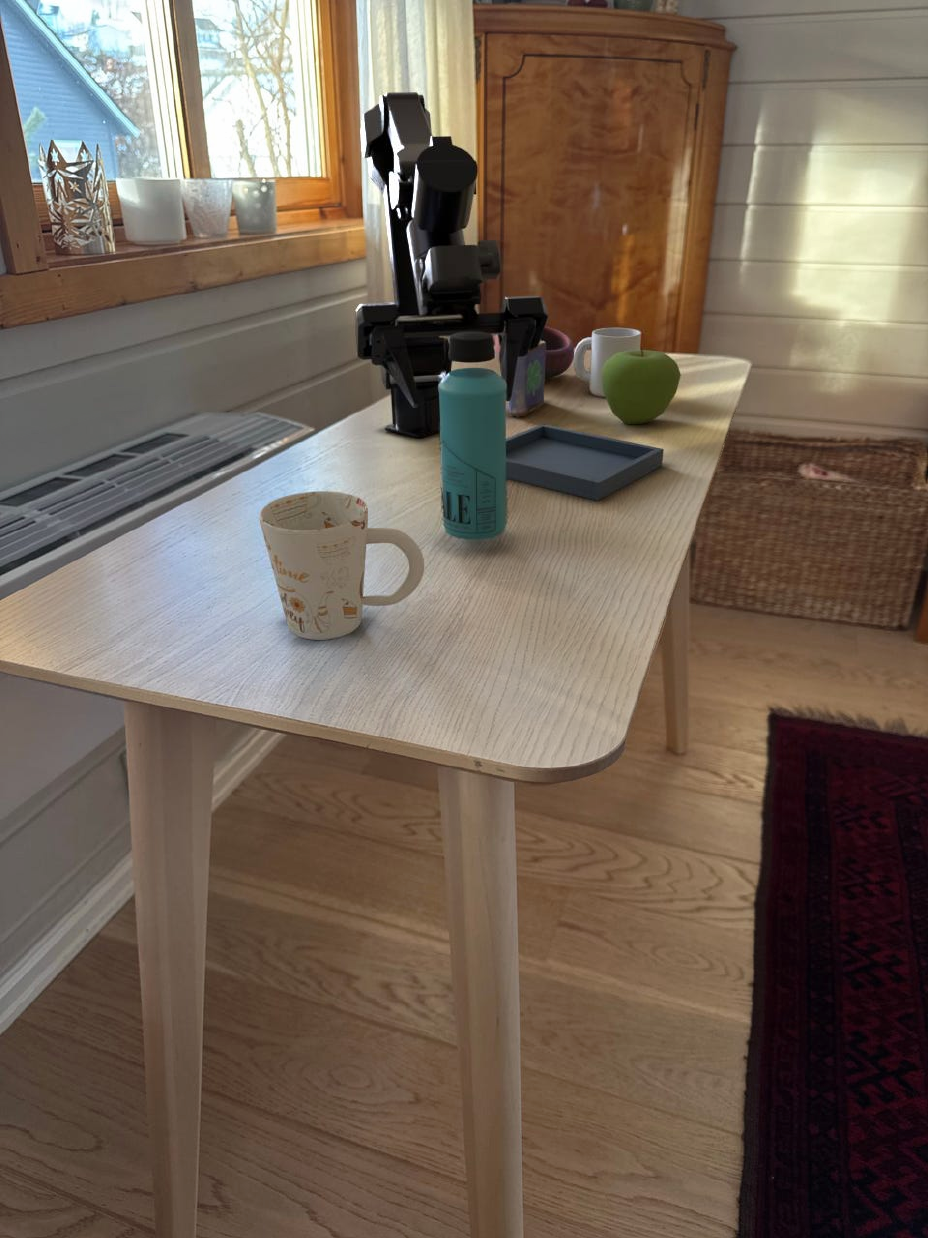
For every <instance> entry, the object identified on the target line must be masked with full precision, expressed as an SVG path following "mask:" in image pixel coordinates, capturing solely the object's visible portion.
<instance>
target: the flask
mask: <svg viewBox="0 0 928 1238" xmlns="http://www.w3.org/2000/svg"><path fill="white" fill-rule="evenodd" d="M545 360H546V342H545V341H541V339H540V342H539V345H538V347H536V348H534V349H533V350H529V351H528V353H527V355H525V356H523V357H518V360H517V366H516V372H515V378H514V385H513V391H512V396H511V400H510V401H508V409H507V410H508V411H507V412H508V416H510V417H517V418H519V417H521V416H522V417H523V416H526V415H527V414H528V413H531V412H533V411H535V409H537V408H538V407H541V406H542V405H544V404H545Z"/></svg>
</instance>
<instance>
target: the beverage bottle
mask: <svg viewBox="0 0 928 1238" xmlns="http://www.w3.org/2000/svg"><path fill="white" fill-rule="evenodd" d="M448 341H449V352H448V356H449V359H450V360H452V362H455V363H462V364H463V363H467V364H473V363H477V364H478V363H485V362H490V361H492V360H494V359H495V358H496V351H495V341H494V340H493V336H492V335H491V334H489V333H486V332H474V331H471V332H459V333H455V334H452V335H451V336H450V337H449V340H448ZM506 389H507V384H506V382H505V381H504V380H503V379H502V378H501V375H499V374H498V373H497V372H496V371H494V370H493V369H491V368H485V367H462V368H457V369H453V370H451V372H449V373H448V374H447V375H446V376H445V377H444V378H443V379H442V381H441V382H440V383H439V386H438V391H439V401H440V415H439V416H440V430H439V431H438V433H439V434H438V437H439V438H438V439H439V444H438V446H439V447H438V448H439V450H440V457H441V458H440V461H441V463H440V464H441V465H440V466H441V467H440V474H441V486H440V490H441V491H440V492H441V496H440V497H441V498H440V504H441V505H440V507H441V511H440V512H441V516H442V517H441V521H442V522H441V523H442V525H443V527H444V530H445V532H446V533H447V534H448V535H449V536H451V537H454V538H457V539H462V540H468V541H469V540H471V541H477V540H487V539H492V538H495V537H498V536H500V535H501V534H503V533H504V532H505V530H506V526H507V524H508V523H509V521H508V519H509V516H508V513H509V507H508V501H509V498H508V496H509V491H508V478H507V476H506V455H507V454H506V437H507V401H506ZM438 421H439V420H438ZM438 427H439V426H438ZM507 459H508V458H507ZM507 469H508V468H507Z"/></svg>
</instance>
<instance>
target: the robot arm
mask: <svg viewBox="0 0 928 1238" xmlns="http://www.w3.org/2000/svg"><path fill="white" fill-rule="evenodd" d="M361 119H362V120H361V127H360V142H361V143H360V145H361V152H362V158H363V159H367V165H368V174H369V177H370V179H371V180H372V182H373V183H374V184H375V186H376V187H377V189H378V190H379V191H380V193H381V195H383V201H384V212H385V220H386V228H387V229H386V230H387V232H386V233H387V239H388V240H387V241H388V251H389V261H390V273H391V280H392V281H391V282H392V292H393V301H392V302H371V303H360V304H359V305H358V306H357V308H356V309H355V319H354V320H355V321H354V322H355V324H354V325H355V326H354V327H355V330H354V331H355V334H354V335H355V336H354V337H355V345H356V346H355V347H356V353H357V358H359V359H361V360H366V361H367V360H371V364H372V365H373V366H380V371H381V372H380V373H381V381H382V384H383V386H384V389H385V390H386V391H387V390H390V402H391V420H392V421H391V424H387V425H385V426H384V430H385V431H387V432H392V433H395V434H399V435H403V436H408V437H412V438H417V439H422V438H423V437H426V436H428V435H431V434H434V433H437V432H439V430H440V416H439V415H440V401H439V391H438V386H439V383H440V382H441V381H442V379H443V378H444V377H445V376H446V375H447V374H448V373H449V372H451V371H452V365H453V361H452V360H450V359H449V356H448V352H449V341H450V340H449V338H450V336H451V335H452V334H455V333H459V332H471V331H474V332H486V333H489V334H491V335H498V340H499V345H500V346H501V348H500V351H499V362H500V363H499V362H498V363H499V370H500V377H501V378H502V379H503V380H504V381H505V382H506V384H507V389H506V402H509V401H510V400H511V396H512V391H513V385H514V378H515V372H516V366H517V360H518V357H523V356H525V355H527V353H528V351H529V350H533V349H534V348H536V347H538V345H539V342H540V339H541V336H542V334H543V331H544V328H545V326H546V325H547V321H548V319H549V312H548V308H547V302H546V301H545V300H544V299H543V298H542V297H541V296H540V295H537V294H536V295H515V296H504V299H503V303H502V307H501V310H500V312H485V313H483V312H482V313H478V311H477V310H478V309H477V305H480V304H481V302H482V297H483V295H482V291H481V290H482V289H481V285H482V284H483V282H484V281H489V280H497V278H498V277H499V276H500V273H501V270H502V262H501V252H500V249H499V245H498V240H496V239H488V240H478V242H477V245H476V244H466V241H465V235H464V231H463V230H464V229H466V228H467V226H468V225H469V223H470V217H471V214H472V213H471V212H472V206H473V201H474V195H477V179H478V174H479V173H478V172H479V170H478V169H479V165H478V163H477V162H478V161H476V160H475V159H474V157H473V156H472V155H471V154H470V153H469V151H466V150H465V149H464V148H462V147H459V146H458V145H454V144H453V139H452V136H449V135H446V136H445V135H443V136H441V135H440V136H433V131H432V119H431V112H430V111H429V110H428V109H427V108H426V102H425V97H424V95H423V94H419V93H418V92H417V91H404V92H402V91H401V92H400V91H399V92H386V93H385V94H381V95H380V96H379V102H378V103H377V104H375V105H374V106H373V107H372V108H370V109H369V110H367V111H366V112H365V113H363V114H362V118H361ZM438 420H439V421H438ZM438 426H439V427H438Z"/></svg>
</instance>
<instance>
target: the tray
mask: <svg viewBox="0 0 928 1238" xmlns="http://www.w3.org/2000/svg"><path fill="white" fill-rule="evenodd" d="M664 451H665V448H663V447H657V446H651V445H647V444H641V443H637V442H632V441H628V440H622V439H617V438H613V437H607V436H603V435H597V434H594V433H593V434H592V433H587V432H583V431H579V430H574V429H569V428H564V427H560V426H554V425H549V424H544V423H541V424H539V425H536V426H533V427H531V428H529V429H526V430H523V431H521V432H519V433H517V434H514V435H512V436H509V437H507V438H506V454H507V455H506V476H507V479H508V480H509V479H510V480H514V481H518V482H521V483H526V484H529V485H533V486H536V487H537V486H538V487H542V488H546V489H550V490H553V491H558V492H561V493H565V494H568V495H573V496H577V497H581V498H585V499H588V500H593V501H598V502H599V501H601V500H602V499H603V498H605V497H607V496H610V495H611V494H613V493H615V492H617V491H618V490H621V489H623V488H624V487H626V486H627V485H629V484H631V483H633V482H635V481H637V480H639V479H640V478H642V477H644V476H646V475H648V474H650V473H652V472H653V471H656V469H658V468H660V467H663V462H664V461H663V460H664V453H665V452H664ZM507 458H508V459H507ZM507 468H508V469H507Z"/></svg>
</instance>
